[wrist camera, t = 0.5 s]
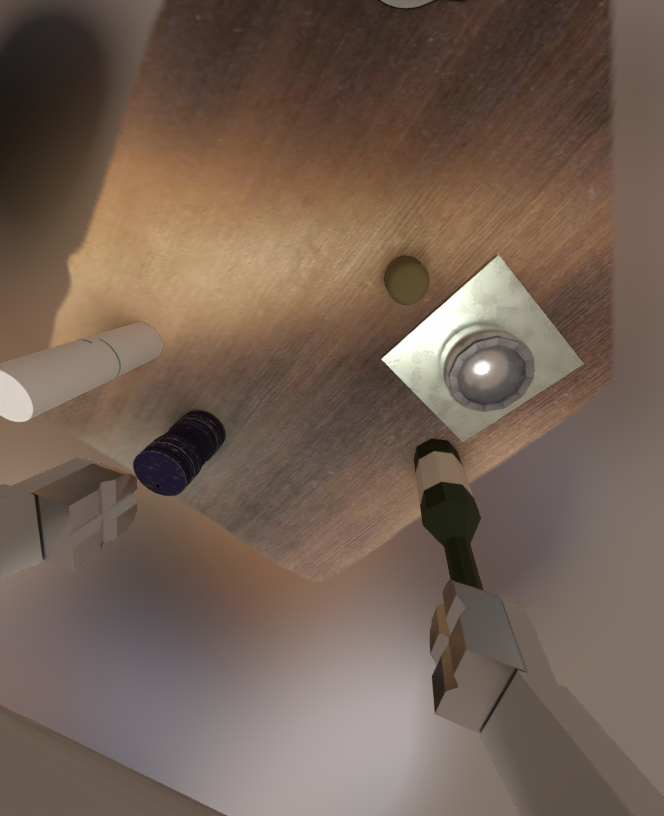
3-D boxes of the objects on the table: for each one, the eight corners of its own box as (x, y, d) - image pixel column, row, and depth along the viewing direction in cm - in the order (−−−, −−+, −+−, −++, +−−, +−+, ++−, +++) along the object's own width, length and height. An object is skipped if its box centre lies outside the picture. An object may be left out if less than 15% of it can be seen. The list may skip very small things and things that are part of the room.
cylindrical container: (125, 317, 58) (-34, 360, 36) (161, 327, 58) (25, 376, 36) (128, 354, 62) (-15, 413, 40) (163, 363, 61) (38, 428, 39)
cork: (424, 252, 46) (434, 253, 37) (424, 295, 49) (434, 307, 39) (382, 258, 48) (382, 261, 38) (385, 300, 50) (385, 312, 40)
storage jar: (185, 402, 65) (134, 441, 52) (230, 420, 65) (190, 464, 52) (179, 438, 69) (130, 483, 56) (220, 456, 70) (182, 504, 57)
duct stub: (496, 254, 45) (517, 256, 38) (580, 361, 50) (612, 380, 43) (381, 357, 54) (381, 373, 47) (461, 439, 59) (471, 465, 52)
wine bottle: (405, 461, 63) (420, 615, 37) (429, 431, 59) (464, 578, 33) (441, 479, 64) (480, 643, 37) (467, 450, 60) (531, 610, 34)
